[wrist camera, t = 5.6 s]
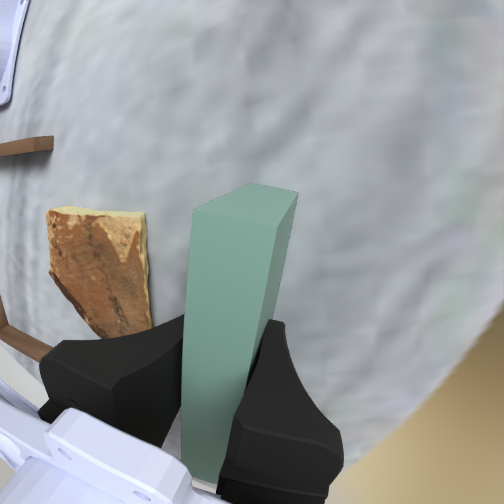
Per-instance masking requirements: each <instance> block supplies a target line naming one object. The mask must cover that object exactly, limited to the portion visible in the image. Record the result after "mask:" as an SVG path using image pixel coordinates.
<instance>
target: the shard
mask: <svg viewBox="0 0 504 504" xmlns="http://www.w3.org/2000/svg"><path fill="white" fill-rule="evenodd" d="M46 222H47V230H48V239H49V244H50V246H49V248H50V265H51V268H50V270H49V274H50V276H51V277H52V279H53V280H54V282H55V284H56V285H57V286H58V287H59V289H60V290H61V292H62V293H63V295H64V296H65V297H66V298H67V300H69V301H70V302H71V303H72V304H73V305H74V307H75V309H76V311H77V312H78V313H79V315H80V316H81V317H82V318H83V319H84V321H85V322H86V323H87V324H88V325H89V326H90V328H91V329H92V330H93V331H94V333H96V334H97V335H98V336H99V337H100V338H101V339H108V338H115V337H120V336H125V335H130V334H134V333H138V332H141V331H145V330H148V329H151V328H153V326H152V321H151V315H150V311H149V307H150V305H149V293H148V284H147V280H148V273H149V271H148V262H147V251H146V246H147V227H146V224H145V213H144V212H120V211H111V212H110V211H108V212H106V211H96V210H91V209H87V208H76V207H73V206H63V207H60V208H51V209H49V210H48V211H47V212H46Z"/></svg>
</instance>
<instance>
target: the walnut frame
mask: <svg viewBox="0 0 504 504" xmlns="http://www.w3.org/2000/svg"><path fill="white" fill-rule="evenodd" d="M51 149H53V136H42V137H32V138H27V139H21V140H16V141H12V142H7V143H2V144H0V156H6V155H13V154H19V153H27V152H34V151H43V150H51ZM0 340H2V341H4V342H5V343H7V344H8V345H10V346H12V347H13V348H15V349H16V350H18V351H20V352H21V353H23V354H25V355H27V356H28V357H30V358H32V359H34V360H35V361H37V362H39V363H40V360H41V358H42V357H43V356H45V355H46V354H47V353H48V352H49V351H51V350H52V349H53V347H51V346H49V345H47V344H45V343H42V342H40V341H38V340H36V339H35V338H33V337H31V336H29V335H27V334H25V333H23V332H21V331H19V330H17V329H16V328H14V327H12V326H10V325H8V321H7V318H6V315H5V312H4V308H3V305H2V301H1V297H0Z"/></svg>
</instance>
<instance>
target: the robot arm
mask: <svg viewBox="0 0 504 504" xmlns="http://www.w3.org/2000/svg"><path fill="white" fill-rule="evenodd" d="M28 3H29V0H0V106H1V105H4V104H6V103H8V101H9V100H10V96H11V88H12V80H13V73H14V66H15V60H16V54H17V49H18V44H19V39H20V34H21V30H22V25H23V21H24V17H25V14H26V10H27V6H28ZM184 315H185V314H183V315H181V316H179V317H177V318H175V319H173V320H171V321H168V322H166V323H164V324H161V325H159V326H157V327H154V328H151V329H148V330H145V331H141V332H138V333H134V334H130V335H125V336H120V337H115V338H108V339H99V340H63V341H61V342H60V343H59V344H58V345H57V346H55V347H54V348H53V349H52V350H51V351H49V352H48V353H47V354H46V355H45V356H43V357H42V358H41V360H40V363H39V370H40V374H41V378H42V380H43V383H44V386H45V389H46V391H47V394H48V397H49V400H48V401H47V402H46V403H45V404H44V405H43V406H42V407H41V408H40V409H39V408H37V407H36V406H35V405H33V404H32V403H30V402H29V401H28V400H26V399H25V398H24V397H22V396H21V395H20V394H19V393H17V392H16V391H15V390H13V389H12V388H11V387H10V386H8V385H7V384H6V383H5V382H4V381H2V380H1V379H0V457H1V458H2V459H3V460H4V461H5V462H6V463H7V464H8V465H9V466H10V467H12V468H13V469H14V470H15V471H16V473H15V474H14V476H13V477H12V478H11V479H10V480H9V481H8V482H7V484H6V485H5V486H4V487H3V488H2V490H1V491H0V504H324V502H325V499H326V498H327V496H328V491H329V486H330V484H331V483H332V482H333V481H334V479H335V478H336V477H337V476H338V474H339V473H340V472H341V470H342V468H343V463H344V452H343V444H342V439H341V434H340V431H339V430H338V429H337V428H336V427H335V426H334V425H333V424H332V423H331V422H330V421H329V420H328V419H327V418H326V417H325V416H324V415H323V414H322V413H321V411H320V410H319V409H318V408H317V407H316V405H315V404H314V402H313V401H312V399H311V398H310V397H309V395H308V394H307V392H306V390H305V389H304V387H303V385H302V383H301V381H300V379H299V377H298V375H297V373H296V370H295V368H294V365H293V363H292V360H291V357H290V353H289V349H288V346H287V341H286V335H285V324H284V323H283V322H280V321H276V320H272V319H269V320H268V322H267V325H266V327H265V329H264V333H263V338H262V342H261V347H260V352H259V356H258V360H257V365H256V368H255V370H254V373H253V375H252V378H251V380H250V382H249V385H248V387H247V389H246V391H245V394H244V396H243V398H242V400H241V402H240V404H239V406H238V408H237V410H236V412H235V414H234V416H233V421H232V426H231V431H230V436H229V441H228V446H227V451H226V456H225V459H224V462H223V465H222V467H221V470H220V472H219V476H218V477H219V479H218V484H217V489H216V494H214V493H211V492H208V491H204V490H201V489H198V488H195V487H192V477H191V475H190V473H189V471H188V469H187V467H186V465H184V464H183V463H182V462H181V461H180V460H178V459H177V458H176V457H175V456H174V455H172V454H170V453H168V452H166V451H164V450H162V449H161V447H162V445H163V443H164V440H165V438H166V436H167V434H168V432H169V429H170V427H171V425H172V423H173V421H174V419H175V417H176V415H177V413H178V411H179V409H180V407H181V391H182V357H183V334H184Z"/></svg>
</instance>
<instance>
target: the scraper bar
mask: <svg viewBox="0 0 504 504" xmlns="http://www.w3.org/2000/svg"><path fill="white" fill-rule="evenodd" d="M297 197H298V192H294V191H289V190H284V189H279V188H274V187H269V186H264V185H259V184H253V183H249V184H247V185H245V186H243V187H241V188H238V189H236V190H234V191H232V192H230V193H228V194H225V195H223V196H221V197H219V198H217V199H215V200H213V201H210V202H208V203H206V204H204V205H202V206H200V207H198V208H196V209H194V210H193V217H192V227H191V237H190V248H189V259H188V271H187V285H186V299H185V315H184V334H183V357H182V391H181V462H182V463H183V464H184V465H186V467H187V469H188V471H189V473H190V475H191V476H192V477H195V478H198V479H201V480H205V481H208V482H211V483H214V484H218V479H219V477H218V476H219V472H220V470H221V467H222V465H223V462H224V459H225V456H226V451H227V446H228V441H229V436H230V431H231V426H232V421H233V416H234V414H235V412H236V410H237V408H238V406H239V404H240V402H241V400H242V398H243V396H244V394H245V391H246V389H247V387H248V385H249V382H250V380H251V378H252V375H253V373H254V370H255V368H256V365H257V360H258V356H259V352H260V347H261V342H262V338H263V333H264V329H265V327H266V325H267V322H268V320H269V319H272V317H273V313H274V308H275V304H276V299H277V295H278V290H279V286H280V281H281V276H282V271H283V267H284V262H285V257H286V252H287V247H288V243H289V238H290V233H291V228H292V223H293V218H294V212H295V207H296V202H297Z"/></svg>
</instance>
